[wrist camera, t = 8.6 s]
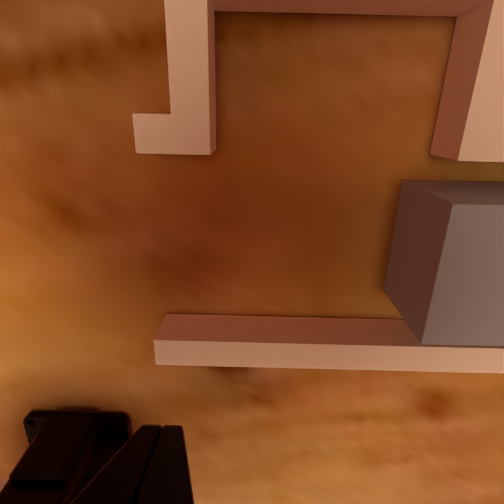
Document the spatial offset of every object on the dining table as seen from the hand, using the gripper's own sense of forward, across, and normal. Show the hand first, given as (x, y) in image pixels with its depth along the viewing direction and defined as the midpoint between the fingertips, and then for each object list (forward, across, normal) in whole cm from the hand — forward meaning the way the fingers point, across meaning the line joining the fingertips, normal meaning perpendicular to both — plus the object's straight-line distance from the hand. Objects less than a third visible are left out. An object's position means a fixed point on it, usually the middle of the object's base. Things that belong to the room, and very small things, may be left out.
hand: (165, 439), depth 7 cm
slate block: (+12, -13, -1) cm, 18 cm away
